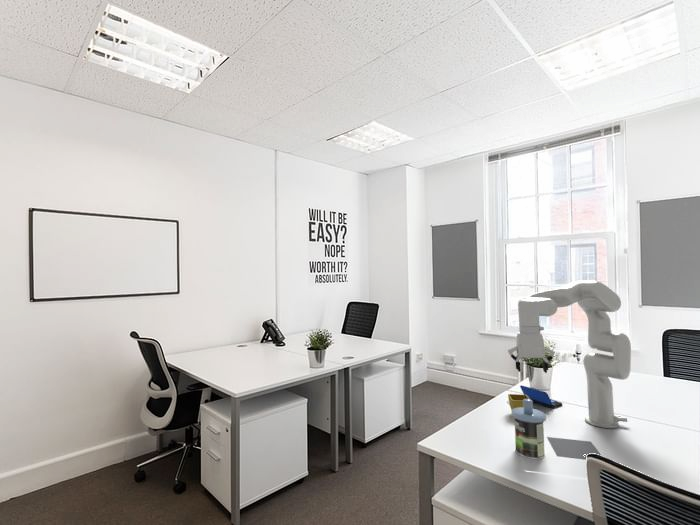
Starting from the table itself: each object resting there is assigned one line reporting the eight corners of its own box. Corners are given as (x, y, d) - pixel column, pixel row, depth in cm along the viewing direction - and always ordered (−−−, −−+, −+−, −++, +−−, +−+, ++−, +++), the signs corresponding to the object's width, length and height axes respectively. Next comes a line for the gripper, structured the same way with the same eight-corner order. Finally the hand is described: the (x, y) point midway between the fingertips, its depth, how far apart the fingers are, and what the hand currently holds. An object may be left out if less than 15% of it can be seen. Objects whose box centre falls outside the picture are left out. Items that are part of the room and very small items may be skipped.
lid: (542, 411, 140) (541, 396, 140) (549, 424, 128) (548, 407, 128) (509, 409, 143) (508, 394, 143) (514, 421, 132) (513, 404, 132)
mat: (590, 442, 142) (590, 441, 142) (606, 462, 127) (606, 461, 127) (546, 437, 147) (546, 436, 147) (557, 457, 132) (556, 456, 132)
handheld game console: (563, 405, 182) (562, 388, 182) (547, 411, 175) (546, 392, 176) (535, 397, 195) (534, 380, 196) (520, 401, 189) (519, 384, 190)
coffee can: (525, 460, 130) (523, 422, 130) (510, 447, 140) (508, 411, 141) (551, 458, 131) (549, 420, 131) (534, 445, 141) (533, 410, 141)
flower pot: (532, 420, 165) (531, 400, 165) (513, 419, 167) (512, 400, 167) (527, 412, 173) (526, 394, 174) (508, 411, 175) (507, 393, 175)
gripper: (550, 328, 144) (553, 369, 144) (505, 328, 149) (507, 368, 149) (555, 331, 137) (558, 375, 137) (508, 331, 142) (510, 373, 142)
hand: (531, 371), depth 143 cm, fingers open, 9 cm apart
